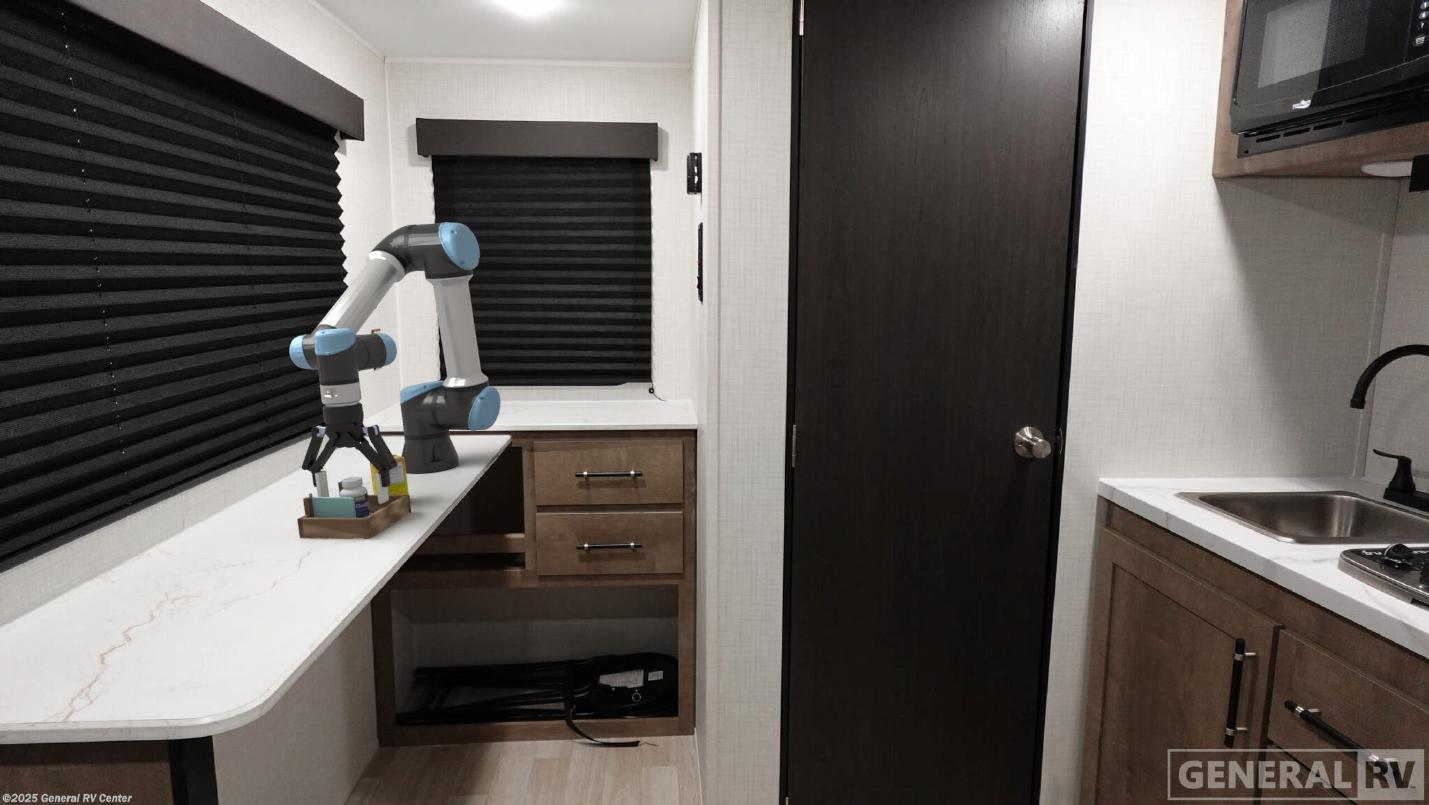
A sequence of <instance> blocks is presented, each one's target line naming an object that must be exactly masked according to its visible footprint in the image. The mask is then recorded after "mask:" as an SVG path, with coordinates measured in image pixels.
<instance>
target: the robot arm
mask: <svg viewBox="0 0 1429 805" xmlns="http://www.w3.org/2000/svg"><path fill="white" fill-rule="evenodd" d="M480 256H481V252H480V246H479V243H478V240H477V238H476V236H475V234H474V233H473V231H472V230H471V229H470V228H469V227H468V226H467V225H465V224H463V223H460V222H450V221H449V222H446V221H445V222H438V223H437V222H436V223H423V224H421V223H420V224H407V225H404V226H402V227H399V228H397V229H395V230H394V231H392V232H390V233H389V234H388V235H386V236H385V237H384V238H382V239H381V240H380V241H379V242H378V243H377V244H376V245H375V246H374V247H373V248H372V250H371V251H370V252H369V254H368V255H367V257H366V265H365V266H364V267H362V270H361V271H360V272H359V273H358V274H357V276H356V277H355V278H354V279H353V281H352V282H351V283H350V284H349V286H348V287H347V288H346V290H344V292H343V294H341V295H340V297H338V300H337V301H336V302H335V303H334V305H333V306H332V307H331V309H330V310H328V312H327V313H326V315H325V316H324V317H323V319H322V320H321V321H320V322H319V323H318V325H317V326H316V327H315V328H314V330H313V331H312V332H311V333H310V334H303V335H298V336H297V337H294V338H293V339H292V341H291V343H290V345H289V357H290V359H291V360H292V362H293V363H294V365H295V366H297V367H298V368H300V369H304V370H305V369H306V370H314V371H315V370H318V371H317V373H318V378H319V388H320V397H321V398H320V399H321V403H322V404H323V405H324V406H322V415H323V423H325V426H323V425H322V424H320V425H318V426H314V427H312V428H311V439H310V441H309V444H308V447H307V450H306V453H305V456H304V457H303V458H304V459H303V462H302V464H301V469H302V470H303V471H308V472H310V473H311V477H312V485H313V487H314V488H316V492H317V497H330V490H329V483H328V475H327V469H326V470H324V468H325V465H326V464H327V462H328V461H329V459H330V458H331V456H332V455H333V454H334V452H335V451H336V449H337V448H338V449H342V448H347V449H352V448H354V449H356V450H357V451H359V452H360V453H361V454H362V455H363V456H364V457H365V458H366V459H367V461H369V464H370V463H371V464H372V465H373V466H374V467H375V468H376V469H377V470H378V471H379V472H378V473H376V474H375V475H376V484H377V493H378V502H379V504H382V503H384V502H386V501H388V500H389V496H388V486H390V474H389V471H390V470H391V469H393V468H395V467H397V466H398V464H397V462H396V460H395V458H394V457H393V455H394V454H393V453H392V452H391V450H390V448H389V447H388V444H387V443H386V441H385V440H384V438H383V437H382V434H381V430H380V426H379V425H378V424H373V425H371V426H365V424H364V417H365V416H364V408H363V403H361V402H360V401H361V400H362V391H361V384H360V383H361V382H360V374H359V372H362V371H367V370H371V369H381V368H383V367H387V366H389V365H391V364H393V363H394V361H395V360H396V359H397V358H396V357H397V353H398V348H397V344H396V342H395V340H394V339H393V338H392V337H391V336H390V335H388V334H386V333H383V332H381V333H380V332H372V333H368V334H357V333H358V332H359V331H360V329H361V328H362V327H363V326H364V324H365V323H366V322H367V320H368V319H369V318H370V316H371V315H372V314H373V312H374V311H375V309H376V308H377V307H378V305H379V304H380V303H381V302H382V300H383V299H384V297H385V296H386V295H387V293H388V292H389V290H391V288H392V287H393V285H394V284H395V283H399V282H400V283H401V281H402V280H404V277H406V276H407V275H408V274H410V273H413V272H424V278H425V280H426V281H427V282H428V283H429V284H431V285H432V287H433V294H434V299H435V300H434V301H435V306H436V314H437V318H438V327H439V332H440V338H441V344H442V345H441V346H442V352H443V358H444V364H445V368H446V369H445V370H446V378H445V379H444V380H435V381H429V382H421V383H416V384H413V385H409V386H405V387H403V388H402V389H401V390H400V394H399V395H400V396H399V398H400V400H399V401H400V402H399V405H400V410H401V411H400V412H401V419H402V428H403V429H402V430H403V438H404V439H403V440H404V442H403V447H402V451H401V455H400V456H401V457H404V459H405V467H406V474H423V473H424V474H425V473H426V474H427V473H436V472H441V471H445V470H449V469H452V468H455V467H457V466H458V465H459V464H460V462H459V461H460V460H459V454H458V451H457V450H456V447H455V446H454V444H453V441H452V439H451V434H450V431H471V432H476V431H486V430H488V429H490V428H491V427H493V425H494V424H495V423H496V421H497V419H498V416H500V410H501V395H500V393H499V391H498V389H497V388H496V387H494V386H492V385H490V383H489V377H488V376H487V375H485V374H484V373H483V372H482V370H481V361H480V355H479V347H478V341H477V334H476V328H475V322H474V314H473V313H474V312H473V307H472V306H473V305H472V300H471V292H470V286H469V283H470V282H469V281H470V280H471V279H472V277H473V276H474V272H473V270H475V268H476V267H478V265H479V262H480V260H479V259H480ZM365 435H366V437H368V438H369V440H368V439H367V438H366V437H365ZM325 436H327V438H328V440H327V442H326V444H325V445H324V448H323V450H322V451H321V452H320V449H321V447H322V444H323V440H324V438H325ZM370 443H371V444H370ZM319 453H320V454H319Z"/></svg>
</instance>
